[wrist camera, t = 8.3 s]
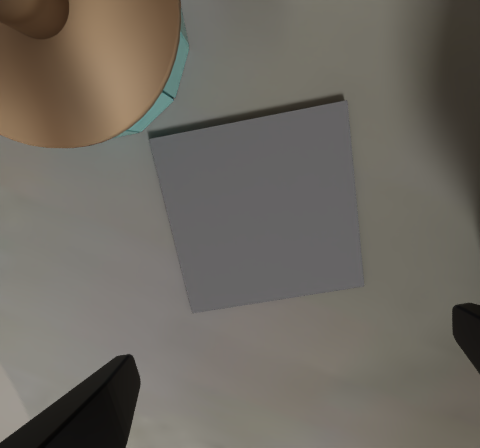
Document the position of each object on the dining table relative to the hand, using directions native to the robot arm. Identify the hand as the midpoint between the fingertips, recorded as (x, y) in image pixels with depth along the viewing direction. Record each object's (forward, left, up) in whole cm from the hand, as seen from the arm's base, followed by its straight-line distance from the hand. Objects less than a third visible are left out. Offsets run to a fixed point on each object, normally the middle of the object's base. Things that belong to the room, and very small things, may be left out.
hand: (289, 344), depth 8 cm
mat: (0, -1, -12) cm, 12 cm away
